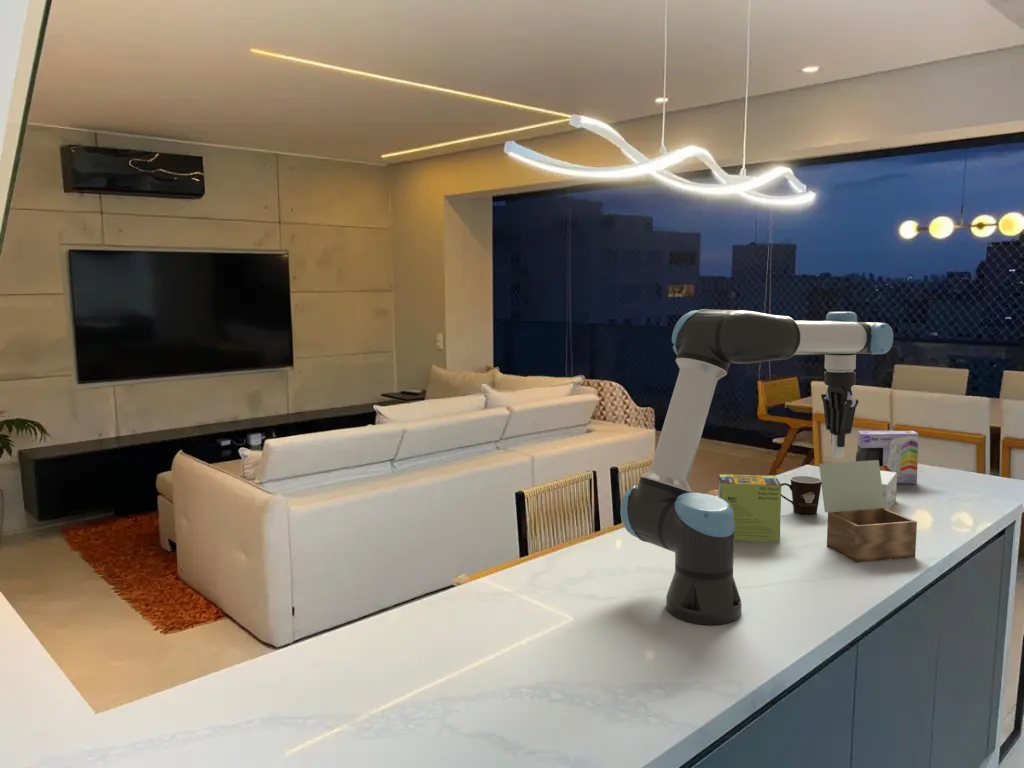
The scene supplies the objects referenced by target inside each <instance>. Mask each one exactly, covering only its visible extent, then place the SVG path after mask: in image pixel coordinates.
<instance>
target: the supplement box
mask: <svg viewBox="0 0 1024 768" xmlns="http://www.w3.org/2000/svg"><path fill="white" fill-rule="evenodd" d="M880 474H881V482H882V489H883V497H884V505H885V509H888V510H890V511H891V508H892V507H893V506H894V504H895V503H896V502H897V484H898V483H897V473H896V472H889V471H880ZM864 510H865V509H864Z"/></svg>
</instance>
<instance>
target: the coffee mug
mask: <svg viewBox="0 0 1024 768" xmlns="http://www.w3.org/2000/svg"><path fill="white" fill-rule="evenodd" d="M780 484H781V487H783V486H787V487H789V489H790V491H791V498H792V500H791V499H789V498H788V497H786V496H785V495H784V494H782V493H781V498H783V499H785V500H786V501H787V502H789V503H791V505H792V508H793V509H792V511H793V513H794V512H795V513H794V514H796V513H797V514H796V515H799V514H800V515H799V516H805V515H808V516H809V517H811V516H810V515H812V516H816V515H817V513H818V508H819V501H820V494H821V491H822V484H821V478H819V477H815V476H811V475H810V476H809V475H794V476H791V477H790V484H789V483H786V482H783V483H780ZM808 516H807V517H808Z"/></svg>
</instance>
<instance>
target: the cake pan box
mask: <svg viewBox="0 0 1024 768" xmlns="http://www.w3.org/2000/svg"><path fill="white" fill-rule="evenodd" d="M856 446H857V450H856V454H855V461H871V460H879V466H880V471H889V472H896V473H897V484H918V465H919V464H918V462H919V461H918V460H919V459H918V458H919V433H918V432H916V431H915V430H858V431H857V445H856Z"/></svg>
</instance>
